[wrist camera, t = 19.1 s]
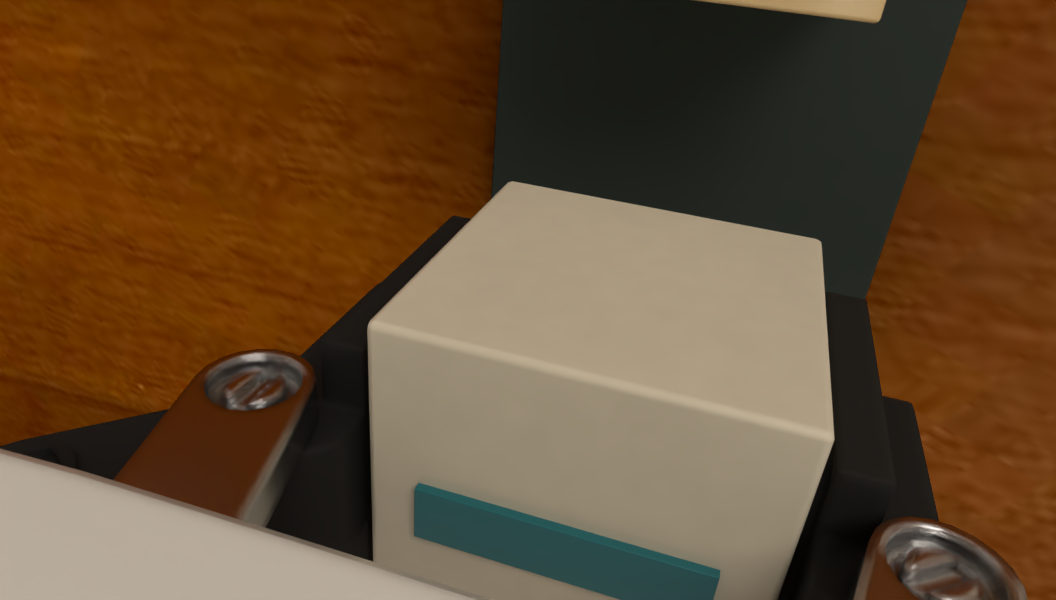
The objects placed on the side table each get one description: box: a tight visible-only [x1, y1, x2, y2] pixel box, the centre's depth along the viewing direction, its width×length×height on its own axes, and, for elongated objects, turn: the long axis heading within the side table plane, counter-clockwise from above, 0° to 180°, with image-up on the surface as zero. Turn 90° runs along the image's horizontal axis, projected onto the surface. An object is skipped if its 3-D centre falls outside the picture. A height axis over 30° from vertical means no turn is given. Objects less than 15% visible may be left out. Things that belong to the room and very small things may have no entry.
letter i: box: [367, 181, 835, 600], centre depth 10 cm, size 4×4×4 cm
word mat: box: [491, 0, 967, 299], centre depth 14 cm, size 14×8×1 cm, turn 175°
